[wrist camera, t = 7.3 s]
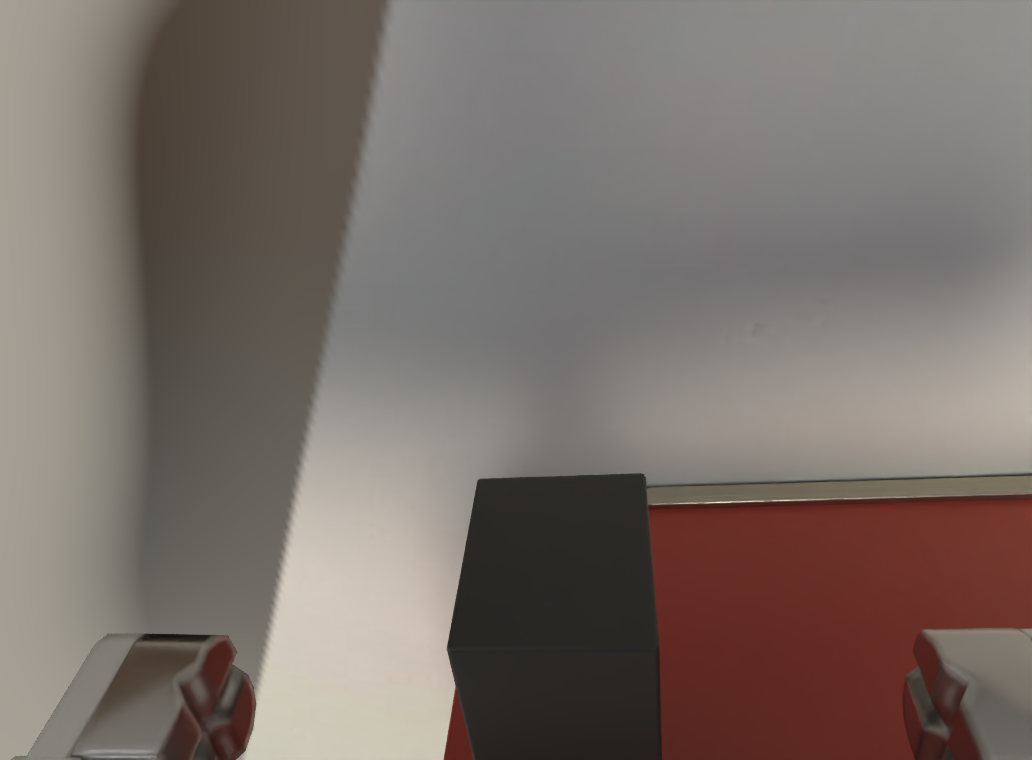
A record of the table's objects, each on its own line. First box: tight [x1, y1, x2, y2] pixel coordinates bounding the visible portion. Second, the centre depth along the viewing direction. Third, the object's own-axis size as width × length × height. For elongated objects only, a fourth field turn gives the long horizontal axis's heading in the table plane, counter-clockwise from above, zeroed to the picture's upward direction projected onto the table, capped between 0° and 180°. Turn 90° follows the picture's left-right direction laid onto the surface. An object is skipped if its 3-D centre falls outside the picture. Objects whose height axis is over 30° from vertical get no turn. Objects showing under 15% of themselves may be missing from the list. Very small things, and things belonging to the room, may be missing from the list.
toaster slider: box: [447, 473, 662, 760], centre depth 12 cm, size 5×2×3 cm, turn 6°
